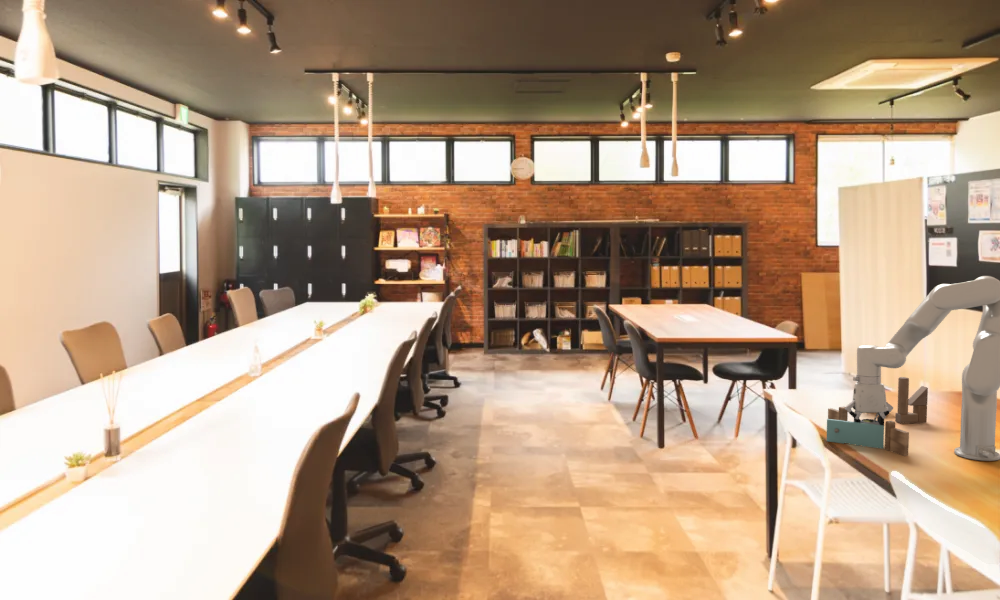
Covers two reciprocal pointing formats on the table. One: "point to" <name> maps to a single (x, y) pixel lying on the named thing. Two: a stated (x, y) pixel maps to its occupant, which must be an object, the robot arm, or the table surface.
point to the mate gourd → (871, 420)
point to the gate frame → (893, 436)
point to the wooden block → (911, 403)
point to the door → (855, 433)
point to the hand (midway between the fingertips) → (869, 428)
